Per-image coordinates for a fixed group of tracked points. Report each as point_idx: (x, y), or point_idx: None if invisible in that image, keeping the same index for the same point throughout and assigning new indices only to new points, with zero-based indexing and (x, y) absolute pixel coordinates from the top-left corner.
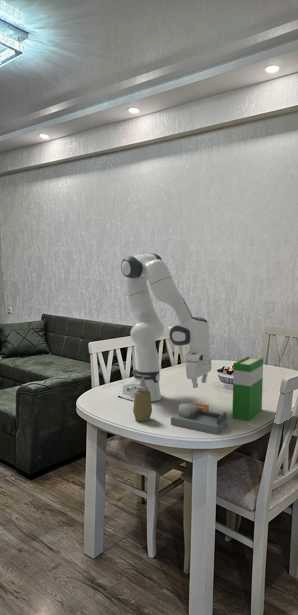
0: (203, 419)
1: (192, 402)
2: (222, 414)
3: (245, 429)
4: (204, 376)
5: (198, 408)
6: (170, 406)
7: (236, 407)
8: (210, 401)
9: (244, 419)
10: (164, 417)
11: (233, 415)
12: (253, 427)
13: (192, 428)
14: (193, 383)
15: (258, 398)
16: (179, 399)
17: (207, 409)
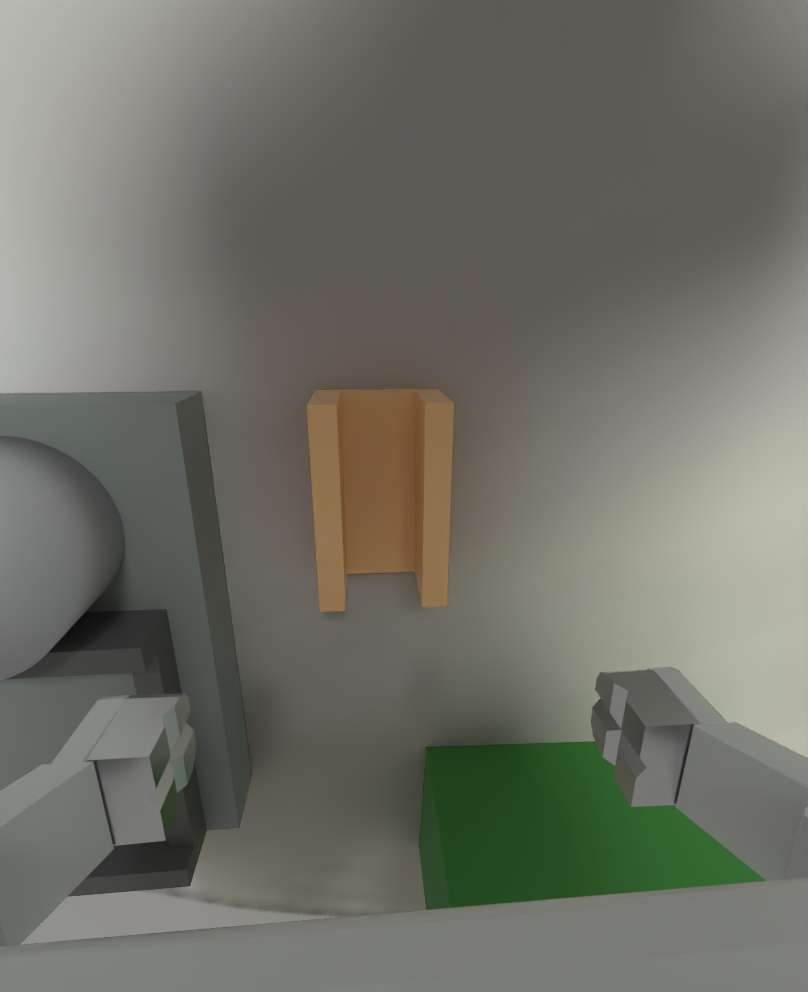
0: (39, 707)
1: (439, 410)
2: (117, 881)
3: (246, 877)
4: (750, 814)
5: (110, 652)
6: (429, 62)
7: (436, 862)
8: (802, 434)
9: (421, 826)
10: (6, 210)
11: (428, 771)
12: (315, 897)
13: None
14: (37, 790)
15: None
16: (774, 33)
17: (416, 580)
